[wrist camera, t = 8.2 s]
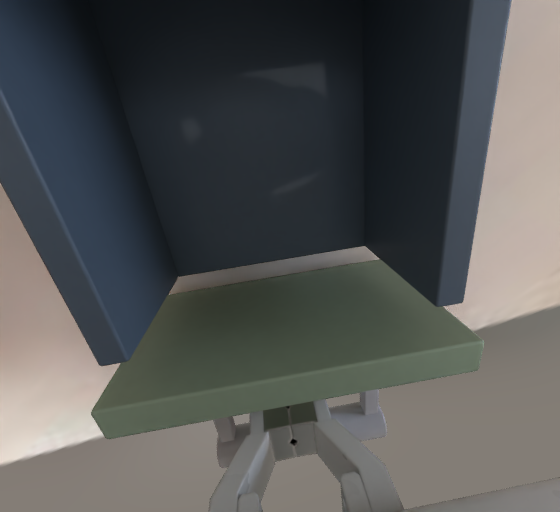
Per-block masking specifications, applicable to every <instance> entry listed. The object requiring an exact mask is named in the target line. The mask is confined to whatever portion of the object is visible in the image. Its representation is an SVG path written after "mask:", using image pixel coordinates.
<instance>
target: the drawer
mask: <svg viewBox="0 0 560 512" xmlns="http://www.w3.org/2000/svg"><path fill="white" fill-rule="evenodd" d="M510 6H511V0H0V183H1V184H2V186H3V188H4V190H5V192H6V194H7V196H8V197H9V199H10V201H11V203H12V205H13V207H14V209H15V210H16V212H17V214H18V216H19V218H20V220H21V221H22V223H23V225H24V227H25V229H26V231H27V233H28V234H29V236H30V238H31V240H32V242H33V244H34V246H35V247H36V249H37V251H38V253H39V255H40V257H41V258H42V260H43V262H44V264H45V266H46V268H47V270H48V271H49V273H50V275H51V277H52V279H53V281H54V282H55V284H56V286H57V288H58V290H59V292H60V294H61V295H62V297H63V299H64V301H65V303H66V305H67V307H68V308H69V310H70V312H71V314H72V316H73V318H74V319H75V321H76V323H77V325H78V327H79V329H80V331H81V332H82V334H83V336H84V338H85V340H86V342H87V343H88V345H89V347H90V349H91V351H92V353H93V355H94V356H95V358H96V360H97V362H98V364H99V365H100V366H105V365H111V364H116V363H121V364H120V366H119V368H118V369H117V371H116V372H115V374H114V376H113V377H112V379H111V380H110V382H109V384H108V385H107V387H106V389H105V390H104V392H103V393H102V395H101V397H100V398H99V400H98V401H97V403H96V405H95V406H94V408H93V410H92V412H91V415H92V417H93V418H94V420H95V421H96V423H97V425H98V426H99V428H100V430H101V431H102V433H103V434H104V436H105V438H107V439H112V438H118V437H123V436H128V435H134V434H139V433H144V432H150V431H156V430H161V429H166V428H171V427H177V426H182V425H188V424H193V423H198V422H204V421H209V420H213V421H214V424H215V427H216V429H217V432H218V438H217V456H218V462H219V465H220V467H221V468H226V467H228V466H229V465H230V463H231V461H232V459H233V458H234V456H235V454H236V452H237V451H238V449H239V447H240V445H241V443H242V442H243V440H244V438H245V436H246V435H250V423H244V424H239V425H235V423H234V419H233V416H236V415H242V414H247V413H252V412H258V411H263V410H269V409H274V408H279V407H285V406H290V405H295V404H301V403H306V402H312V401H317V400H322V399H328V398H333V397H339V396H343V395H349V394H355V393H360V402H357V403H351V404H346V405H341V406H335V407H330V408H329V412H330V415H331V418H332V419H336V420H337V421H339V422H340V423H341V424H342V425H343V426H344V427H345V428H346V429H347V430H348V431H349V432H350V433H352V434H353V435H354V436H355V437H356V438H357V439H358V440H359V441H360V442H361V441H366V440H370V439H376V438H382V437H385V436H386V435H387V427H386V422H385V418H384V415H383V412H382V410H381V408H380V406H379V404H378V399H379V398H378V397H379V389H381V388H387V387H392V386H398V385H403V384H408V383H414V382H419V381H425V380H430V379H435V378H441V377H446V376H452V375H457V374H462V373H468V372H473V371H477V370H478V369H479V365H480V361H481V356H482V351H483V346H484V341H483V340H482V339H481V338H480V337H479V336H478V335H476V334H475V333H474V332H473V331H472V330H470V329H469V328H468V327H467V326H466V325H464V324H463V323H462V322H461V321H459V320H458V319H457V318H456V317H455V316H453V315H452V314H451V313H450V312H449V311H447V310H446V309H445V308H444V307H443V306H447V305H453V304H459V303H462V302H463V300H464V294H465V288H466V281H467V275H468V269H469V263H470V256H471V250H472V244H473V238H474V231H475V225H476V219H477V213H478V206H479V200H480V194H481V188H482V181H483V175H484V169H485V162H486V156H487V150H488V144H489V137H490V131H491V125H492V119H493V112H494V106H495V100H496V94H497V87H498V81H499V75H500V69H501V62H502V56H503V50H504V44H505V37H506V31H507V25H508V19H509V12H510ZM360 246H366V247H367V248H368V249H369V250H370V251H372V252H373V253H374V254H375V255H376V256H377V257H379V258H380V259H379V260H373V261H367V262H361V263H355V264H350V265H344V266H338V267H332V268H326V269H320V270H314V271H308V272H302V273H296V274H290V275H284V276H278V277H272V278H266V279H260V280H254V281H248V282H242V283H236V284H231V285H225V286H219V287H213V288H207V289H201V290H195V291H189V292H183V293H177V294H171V295H168V294H169V292H170V290H171V288H172V287H173V285H174V283H175V282H176V280H177V278H178V277H180V276H186V275H192V274H198V273H204V272H210V271H216V270H222V269H228V268H234V267H240V266H246V265H252V264H258V263H264V262H270V261H276V260H282V259H288V258H294V257H300V256H306V255H312V254H318V253H324V252H330V251H336V250H342V249H348V248H354V247H360Z"/></svg>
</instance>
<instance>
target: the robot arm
mask: <svg viewBox="0 0 560 512" xmlns="http://www.w3.org/2000/svg"><path fill="white" fill-rule="evenodd" d="M312 454H318V456H319V457H320V458H321V459H322V461H323V462H324V463H325V465H326V466H327V467H328V468H329V469H330V471H331V472H332V474H333V475H334V476H335V477H336V479H337V480H338V481H339V482H340V484H341V498H342V512H560V477H558V478H554V479H549V480H544V481H539V482H535V483H530V484H525V485H521V486H515V487H511V488H506V489H501V490H496V491H491V492H487V493H482V494H477V495H473V496H468V497H463V498H458V499H453V500H449V501H444V502H439V503H435V504H429V505H425V506H420V507H415V508H411V509H405V510H404V508H403V505H402V503H401V501H400V498H399V496H398V494H397V492H396V489H395V487H394V484H393V482H392V480H391V477H390V475H389V473H388V471H387V468H386V465H385V464H384V463H383V462H382V461H381V460H380V459H379V458H378V457H376V456H375V455H374V454H373V453H372V452H371V451H370V450H369V449H368V448H367V447H366V446H365V445H363V444H362V443H361V442H360V441H359V440H358V439H357V438H356V437H355V436H354V435H353V434H352V433H350V432H349V431H348V430H347V429H346V428H345V427H344V426H343V425H342V424H341V423H340V422H339V421H337V420H336V419H332V418H331V415H330V412H329V408H328V405H327V402H326V399H322V400H317V401H312V402H306V403H301V404H295V405H290V406H285V407H279V408H274V409H269V410H263V411H258V412H252V413H250V435H246V436H245V438H244V440H243V442H242V443H241V445H240V447H239V449H238V451H237V452H236V454H235V456H234V458H233V459H232V461H231V463H230V465H229V466H228V468H227V470H226V472H225V473H224V475H223V477H222V479H221V480H220V482H219V484H218V486H217V488H216V489H215V491H214V493H213V495H212V496H211V498H210V502H209V512H263V510H262V507H261V500H262V498H263V495H264V492H265V490H266V487H267V484H268V481H269V479H270V476H271V473H272V471H273V468H274V465H275V462H277V461H281V460H285V459H289V458H294V457H300V456H305V455H312Z"/></svg>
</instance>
